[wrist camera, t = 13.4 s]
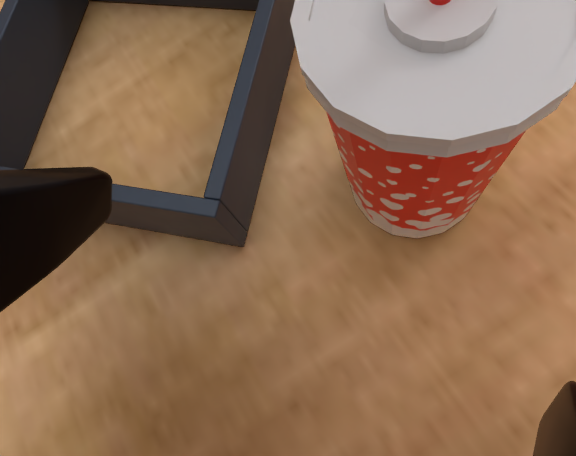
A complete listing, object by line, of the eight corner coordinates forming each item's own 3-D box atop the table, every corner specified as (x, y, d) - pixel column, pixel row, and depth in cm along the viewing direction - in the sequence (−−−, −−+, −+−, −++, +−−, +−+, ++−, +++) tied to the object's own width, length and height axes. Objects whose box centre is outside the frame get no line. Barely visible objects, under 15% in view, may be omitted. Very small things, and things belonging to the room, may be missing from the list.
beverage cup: (470, 284, 17) (764, -65, 4) (305, 225, 19) (129, -157, 6) (523, 130, 18) (871, -514, 5) (364, 88, 20) (331, -480, 7)
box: (244, 247, 19) (214, 218, 16) (-2, 203, 22) (-72, 170, 18) (306, 2, 22) (292, -66, 19) (82, -11, 24) (36, -72, 21)
